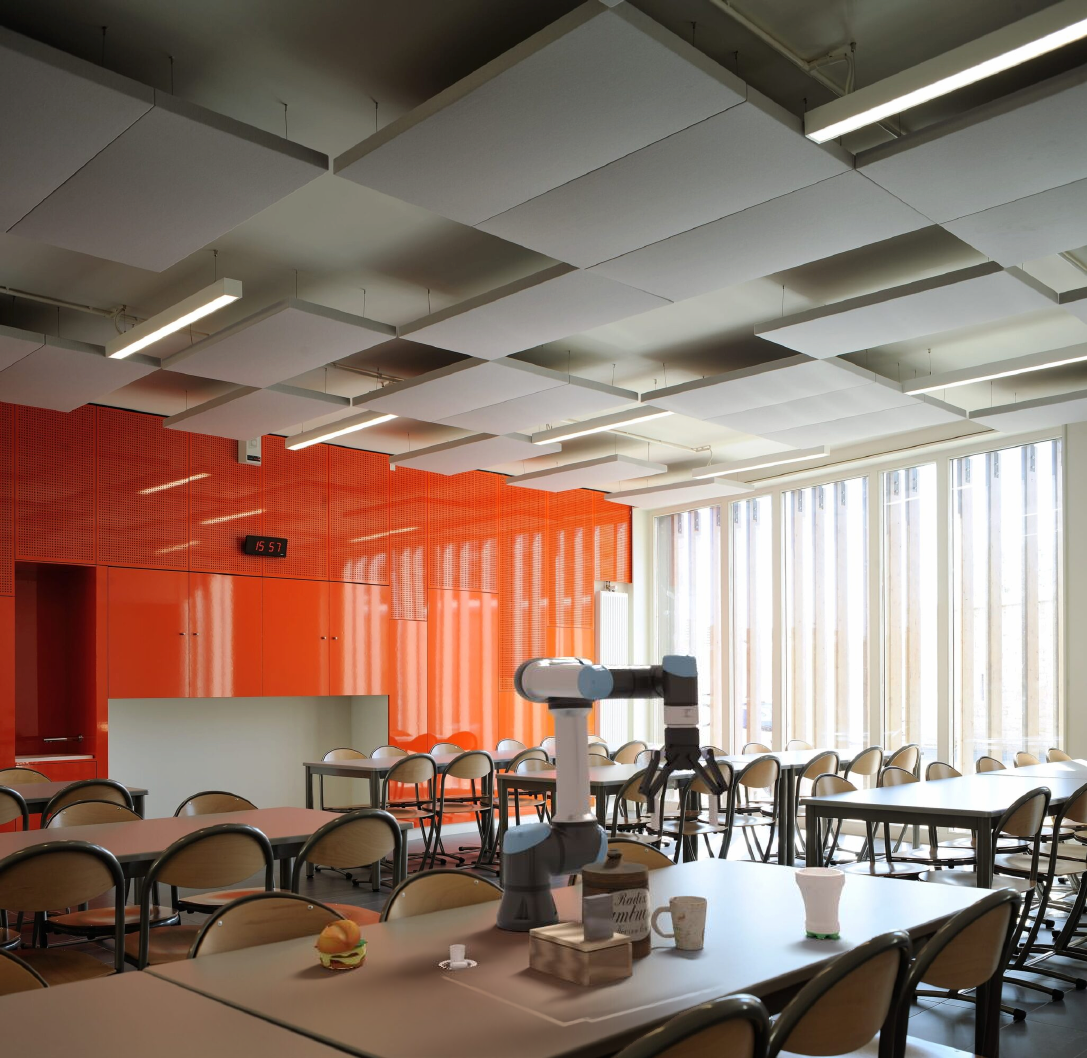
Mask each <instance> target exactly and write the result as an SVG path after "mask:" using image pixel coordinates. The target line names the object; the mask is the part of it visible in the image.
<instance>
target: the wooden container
mask: <svg viewBox="0 0 1087 1058" xmlns="http://www.w3.org/2000/svg"><path fill="white" fill-rule="evenodd" d="M606 857H607V859H606V860H605V861H604V862H597V863H591V864H587V865H584V866H583V867H582V875H581V882H582V883H581V887H582V888H581V892H582V893H581V895H582V896H581V900H582V901H581V910H582V911H581V924H584V919H583V897H589V896H595V895H600V894H610V895H613V930H614V932H615V933H619V934H622V935H626V936H630V937H631V942H629V943H632V960H637V959H642V958H646V957H648V956H649V955H651V953H652V936H651V935H652V925H651V917H652V916H651V903H650V900H651V899H650V883H649V875H650V874H649V873H650V872H649V866H648V865H645V864H642V863H638V862H631V861H624V860H623V859H622V857H623V852H622V850H621V849H619V848H615V847H612V848H610V849H608V850H607V856H606Z"/></svg>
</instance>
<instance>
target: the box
mask: <svg viewBox="0 0 1087 1058" xmlns="http://www.w3.org/2000/svg"><path fill="white" fill-rule="evenodd" d="M528 950H529V951H528V955H529V956H528V963H529V964H528V965H529V966H528V967H529V968H531V969H534V970H536V971H540V972H543V973H545V974H547V975H548V974H549V975H551V976H554V977H558V978H559V979H563V980H565V981H568V982H572V983H574V984H578V985H579V986H580V985H581V986H583V987H590V986H593V985H598V984H602V983H605V982H610V981H614V980H618V979H622V978H627V977H628V978H629V977H631V976H633V975H634V974H633V973H634V972H633V971H634V969H633V959H632V943H625V944H620V945H615V946H611V947H606V948H601V949H596V950H592V951H587V952H585V951H582V950H579V949H575V948H572V947H569V946H566V945H562V944H559V943H556V942H552V941H549V940H546V939H542V938H539V937H536V936H532V935H530V936H528Z"/></svg>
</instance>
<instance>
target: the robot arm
mask: <svg viewBox="0 0 1087 1058" xmlns="http://www.w3.org/2000/svg"><path fill="white" fill-rule="evenodd" d="M661 661H662V664H594V663H593V662H592V661H591V660H590V659H588V658H583V657H575V656H574V657H572V656H571V657H534V658H530V659H528V660H525V661H523V662H522V663H520V665H519V666H518V667H517V669H516V670H515V672H514V676H513V686H514V689H515V691H516V693H517V694H518V695H519V697H521V698H522V699H524V700H525V701H528V702H531V703H535V704H547V708H548V709H547V711H548V712H549V713H550V714H551V715H552V716H553V720H554V722H553V723H554V725H553V726H554V749H555V750H554V752H555V777H556V778H555V783H556V787H555V788H556V814H555V815H554V816H553V817H552V818H551V825H550V824H549V823H546V822H534V823H531V822H530V823H524V824H519V825H516V826H513V827H512V826H511V827H510V828H509V829H507V830H506V831H505V833H504V835H503V844H502V845H503V846H502V853H503V856H502V857H503V859H502V861H503V863H502V864H503V892H502V893H503V894H502V897H501V900H500V904H499V908H498V911H497V913H496V926H497V927H498V928H500V929H501V930H502V929H503V930H507V931H514V932H530V930H531V929H536V928H541V927H547V926H552V925H557V924H560V923H559V919H560V917H559V912H558V908H557V905H556V902H555V898H554V896H553V893H552V878H556V877H557V878H558V877H564V876H565V877H566V876H567V877H568V876H572V875H573V876H574V875H580V876H582V867H583V866H584V865H587V864H591V863H597V862H606V860H607V857H608V856H607V851H608V850H609V847H608V845H609V844H608V836H607V834H606V831H605V828H604V827H603V826H602V825H600V824H598V818H597V816H595V814H594V813H593V812H592V807H591V806H592V805H591V804H592V803H591V800H592V799H591V780H590V779H591V778H590V777H591V776H590V774H591V773H590V755H589V754H590V753H589V749H590V748H589V728H588V727H589V726H588V725H589V723H588V716H589V714H590V713H591V712H592V711H593V709H594V708H593V704H594V703H595V702H596V701H602V700H618V699H619V700H622V699H623V700H629V699H630V700H631V699H632V700H633V699H635V700H639V699H640V700H654V699H655V700H656V699H663V725H665V726H666V727H665V728H664V736H663V737H664V750H659V749H651V751H650V759H649V763H648V765H647V767H646V770H645V772H644V773H643V774H644V775H643V777H642V780H641V782H640V783H639V786H638V789H637V793H638V794H639V795H641V796H644V797H645V798H646V811H647V813H648V814H650V828H651V829H652V830H655V831H660V830H661V829H660V801H659V797H656V796H657V794H658V792H659V791H660V790H661V788H662V787H663V785H664V784H665V783H666V782H667V780H668V779H669V777H670V776H671V774H673V773H674V772H675V771H676V772H677V771H678V772H679V771H680V772H681V771H693V772H694V773H695V775H697V776H698V777H699V779H700V780H701V781H702V782H703V784H704V785H705V786H706V788H708V790H709V791H710V792H711V794H710V793H709V794H708V795H707V796H708V797H707V799H708V822H709V823H708V825H709V826H710V827H711V826H712V827H714V828H715V827H716V828H718V827H719V817H718V816H719V813H718V811H721V808H722V800H721V799H722V797H721V796H722V795H723V794H724V793H725V792H729V789H730V788H729V786H728V784H727V781H726V780H725V777H724V775H723V774H722V772H721V771H722V770H721V769H720V767H719V765H718V763H717V760H716V759H715V752H714V749H713V748H709V747H704V748H703V749H701V747H700V744H701V743H700V728H699V727H697V725H699V723H700V719H699V718H700V717H699V716H700V715H699V683H698V682H699V680H698V679H699V678H698V676H699V673H698V667H697V666H698V665H697V658H696V657H695V656H694V655H693V654H665V655H663V657H662V660H661ZM701 757H702V759H704V761H705V763H706V765H707V767H708V769H709V772H710V774H711V776H712V777H713V779H714V780H713V779H712V777H711V776H710V775H709V774H708V772H706V770H705V769H704V766H703V765H702V763H700V758H701ZM663 758H664V759H665V760H666V762H665V764H664V765H663V766H662V769H661V771H660V772H659V774H658V775H657V776H656V778H655V779H654V777H655V774H656V772H657V771H658V768H659V766H660V762H661V761H662V760H663Z"/></svg>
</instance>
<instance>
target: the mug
mask: <svg viewBox="0 0 1087 1058" xmlns="http://www.w3.org/2000/svg"><path fill="white" fill-rule="evenodd" d="M668 901H669V902H668V903H669V905H664V906H662V905H661V906H658V907H657V908H656V909H655V910H654V911H653V913H652V914H651V916H650V917H651V929H652V930H653V931H654V933H656V934H657V935H658V936H660V937H661V938H663V939H674V943H675V948H677V949H679V950H684V951H697V950H701V949H703V948H704V945H705V944H704V943H705V942H704V941H705V933H706V931H705V930H706V922H707V921H706V918H707V911H708V910H707V908H708V900H707V899H706V898H705V897H701V896H694V895H693V896H692V895H680V896H679V895H678V896H673V897H670V898H669V899H668ZM662 913H670V917H671V923H672V929H673V933H664V932H663V931H661V929H660V928H659V926H658V923H657V920H658V917H659V915H660V914H662Z"/></svg>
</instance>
